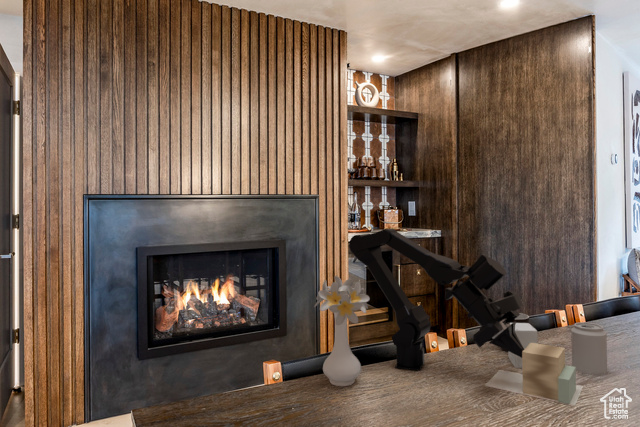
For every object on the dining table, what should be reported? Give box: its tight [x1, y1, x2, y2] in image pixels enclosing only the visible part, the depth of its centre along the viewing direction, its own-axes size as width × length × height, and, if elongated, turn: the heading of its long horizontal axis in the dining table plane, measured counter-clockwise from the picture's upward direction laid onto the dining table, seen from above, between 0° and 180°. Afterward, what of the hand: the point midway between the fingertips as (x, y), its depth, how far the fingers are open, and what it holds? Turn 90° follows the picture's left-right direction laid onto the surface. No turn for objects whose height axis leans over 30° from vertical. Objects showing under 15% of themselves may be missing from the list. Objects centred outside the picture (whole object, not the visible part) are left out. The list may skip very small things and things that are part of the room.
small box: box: [507, 323, 539, 369], centre depth 114 cm, size 8×6×10 cm
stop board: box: [557, 364, 577, 405], centre depth 94 cm, size 2×9×5 cm, turn 142°
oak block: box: [521, 343, 566, 401], centre depth 97 cm, size 7×8×9 cm
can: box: [570, 321, 608, 376], centre depth 109 cm, size 8×8×12 cm
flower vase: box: [313, 275, 371, 387], centre depth 106 cm, size 13×18×25 cm
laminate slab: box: [484, 369, 584, 407], centre depth 99 cm, size 18×12×1 cm, turn 52°
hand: (525, 356), depth 99 cm, fingers closed, pressing on oak block
